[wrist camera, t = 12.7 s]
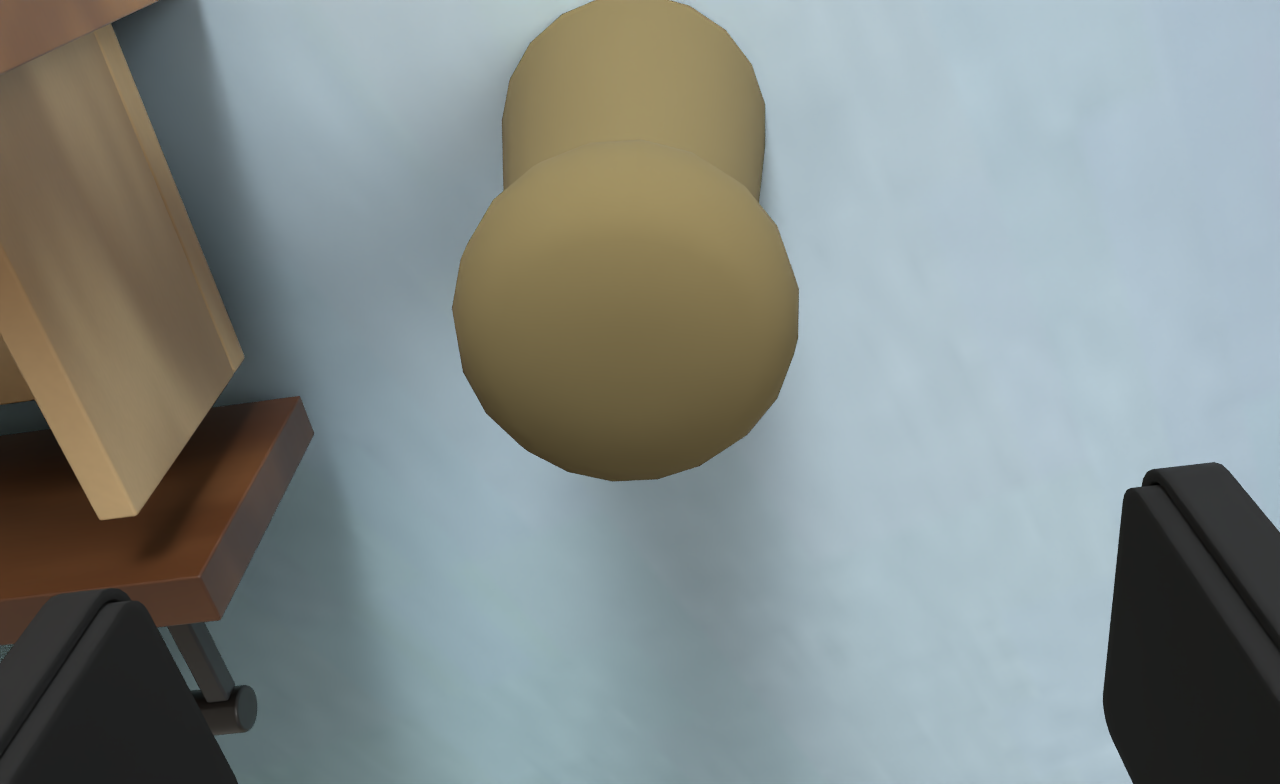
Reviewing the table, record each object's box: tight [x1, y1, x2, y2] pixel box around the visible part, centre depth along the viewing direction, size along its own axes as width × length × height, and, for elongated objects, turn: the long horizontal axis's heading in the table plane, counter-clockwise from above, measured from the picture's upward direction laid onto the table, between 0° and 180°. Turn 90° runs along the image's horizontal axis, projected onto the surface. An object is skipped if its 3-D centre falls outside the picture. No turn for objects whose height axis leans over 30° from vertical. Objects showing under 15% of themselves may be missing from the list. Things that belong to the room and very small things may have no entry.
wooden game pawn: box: [452, 0, 799, 481], centre depth 19 cm, size 6×6×11 cm
